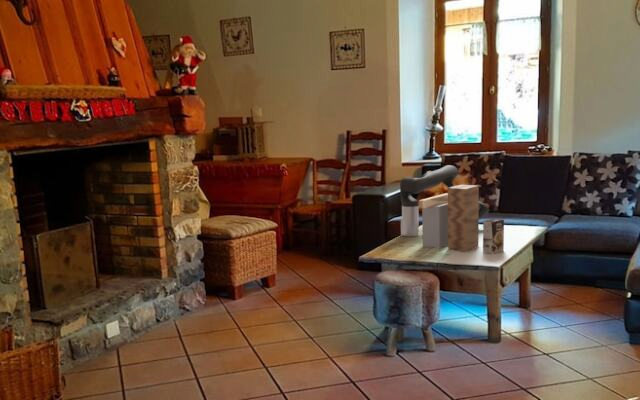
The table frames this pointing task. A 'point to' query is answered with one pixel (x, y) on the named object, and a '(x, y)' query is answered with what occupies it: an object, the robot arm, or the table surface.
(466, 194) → the tall pedestal
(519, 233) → the table surface
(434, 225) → the base pedestal
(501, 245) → the coffee box
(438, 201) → the bar
